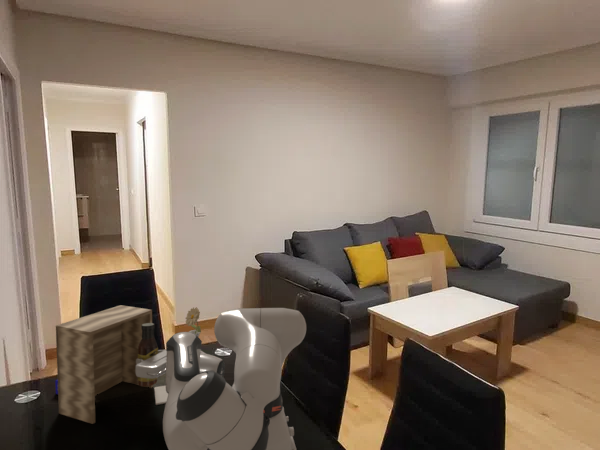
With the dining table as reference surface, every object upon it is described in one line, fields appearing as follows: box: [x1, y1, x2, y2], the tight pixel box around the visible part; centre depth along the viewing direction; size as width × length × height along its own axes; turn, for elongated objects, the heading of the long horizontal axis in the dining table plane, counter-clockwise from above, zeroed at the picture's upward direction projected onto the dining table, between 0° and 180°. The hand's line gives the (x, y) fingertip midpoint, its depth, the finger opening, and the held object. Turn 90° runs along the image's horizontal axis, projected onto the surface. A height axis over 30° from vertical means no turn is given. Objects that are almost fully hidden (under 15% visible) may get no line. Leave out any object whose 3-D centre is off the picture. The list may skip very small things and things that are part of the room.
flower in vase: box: [185, 307, 207, 354], centre depth 167 cm, size 13×11×25 cm
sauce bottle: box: [138, 322, 159, 388], centre depth 134 cm, size 7×6×20 cm
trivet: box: [153, 385, 168, 406], centre depth 143 cm, size 12×12×1 cm
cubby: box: [55, 304, 154, 425], centre depth 138 cm, size 15×26×29 cm, turn 157°
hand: (145, 356), depth 134 cm, fingers closed on sauce bottle, 6 cm apart
